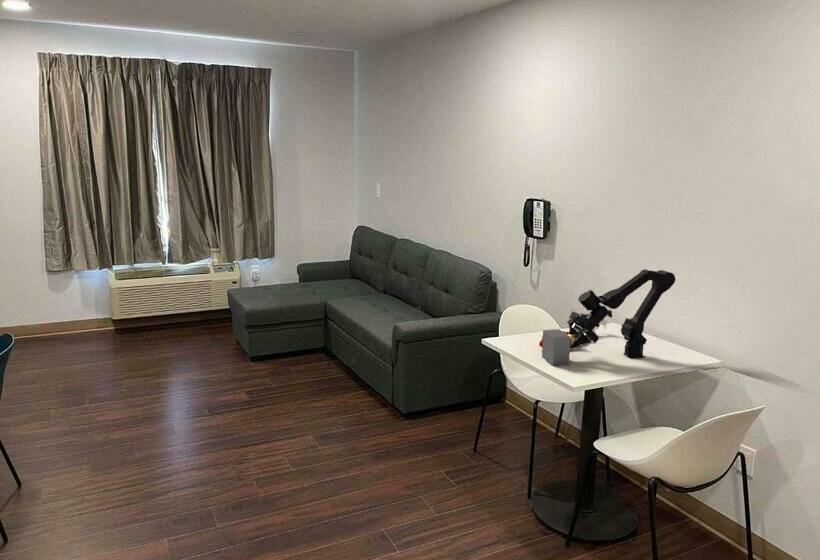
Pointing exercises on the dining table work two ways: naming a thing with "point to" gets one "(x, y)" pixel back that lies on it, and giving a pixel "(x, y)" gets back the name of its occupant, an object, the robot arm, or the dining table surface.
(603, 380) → the dining table surface
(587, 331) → the robot arm
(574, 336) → the gold cylindrical piece
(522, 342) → the dining table surface
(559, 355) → the housing
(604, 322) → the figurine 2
